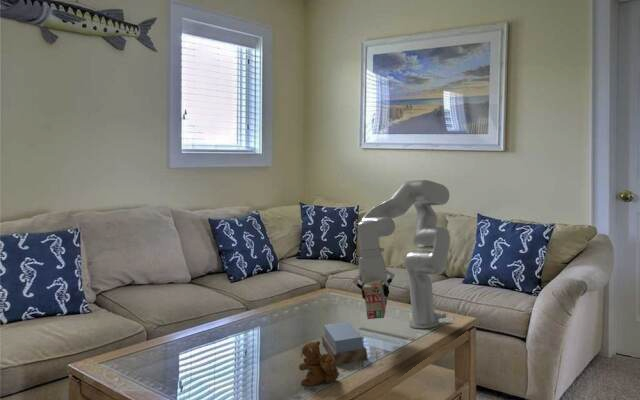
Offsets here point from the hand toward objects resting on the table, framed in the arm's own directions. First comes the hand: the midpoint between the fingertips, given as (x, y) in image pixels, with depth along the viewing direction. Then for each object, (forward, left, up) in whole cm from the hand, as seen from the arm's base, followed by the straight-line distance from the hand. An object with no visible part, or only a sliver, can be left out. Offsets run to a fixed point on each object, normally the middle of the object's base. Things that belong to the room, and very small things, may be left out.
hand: (376, 297), depth 219 cm
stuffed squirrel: (+28, +25, -19) cm, 42 cm away
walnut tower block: (+15, -1, -20) cm, 25 cm away
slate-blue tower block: (+15, 0, -15) cm, 21 cm away
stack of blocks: (0, -1, -5) cm, 5 cm away
